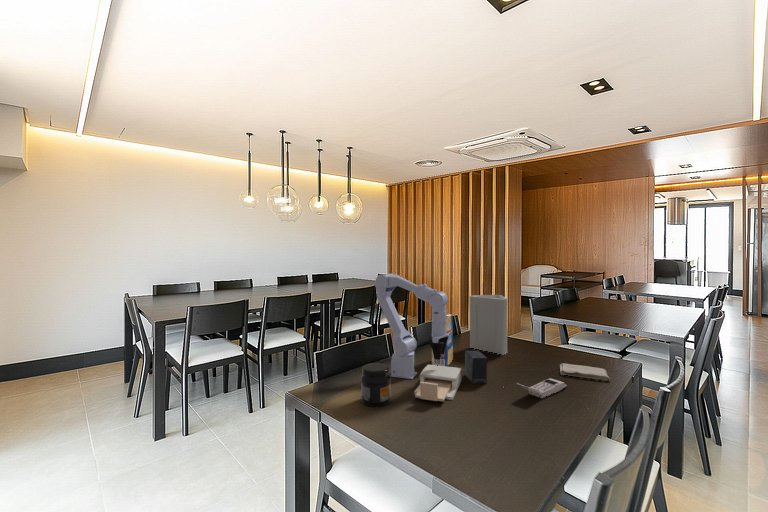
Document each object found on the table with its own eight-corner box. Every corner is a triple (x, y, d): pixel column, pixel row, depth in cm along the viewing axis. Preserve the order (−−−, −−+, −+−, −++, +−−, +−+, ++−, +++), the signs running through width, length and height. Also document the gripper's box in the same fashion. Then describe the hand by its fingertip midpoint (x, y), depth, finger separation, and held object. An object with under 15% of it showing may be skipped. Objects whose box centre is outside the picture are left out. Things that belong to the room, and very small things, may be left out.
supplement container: (397, 400, 126) (396, 367, 125) (375, 410, 118) (375, 374, 118) (376, 392, 133) (376, 360, 133) (354, 401, 126) (354, 367, 125)
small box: (488, 383, 141) (487, 357, 141) (471, 384, 140) (471, 357, 140) (479, 374, 151) (479, 349, 151) (464, 375, 151) (464, 350, 151)
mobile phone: (515, 382, 127) (553, 368, 141) (515, 399, 127) (553, 383, 141) (530, 388, 122) (568, 373, 136) (530, 405, 122) (568, 388, 136)
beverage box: (453, 360, 171) (452, 314, 170) (446, 367, 161) (445, 318, 161) (439, 358, 174) (439, 313, 174) (431, 365, 164) (431, 317, 164)
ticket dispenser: (414, 394, 131) (414, 380, 131) (427, 376, 150) (427, 364, 150) (452, 400, 126) (452, 385, 126) (461, 380, 145) (461, 368, 144)
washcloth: (559, 368, 160) (559, 361, 160) (606, 373, 152) (606, 366, 152) (559, 376, 149) (559, 369, 149) (610, 383, 142) (610, 375, 142)
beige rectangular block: (414, 397, 125) (414, 381, 125) (426, 381, 140) (426, 367, 140) (443, 402, 121) (443, 385, 121) (452, 384, 136) (452, 370, 136)
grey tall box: (515, 349, 189) (515, 296, 188) (503, 355, 178) (503, 299, 178) (482, 343, 202) (482, 293, 201) (469, 348, 191) (469, 296, 191)
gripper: (445, 326, 134) (445, 362, 134) (452, 319, 148) (452, 352, 148) (427, 325, 137) (427, 360, 137) (435, 318, 150) (436, 350, 150)
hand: (439, 356), depth 143 cm, fingers open, 7 cm apart
